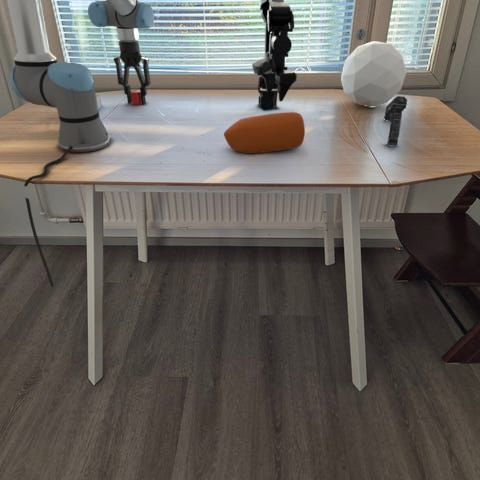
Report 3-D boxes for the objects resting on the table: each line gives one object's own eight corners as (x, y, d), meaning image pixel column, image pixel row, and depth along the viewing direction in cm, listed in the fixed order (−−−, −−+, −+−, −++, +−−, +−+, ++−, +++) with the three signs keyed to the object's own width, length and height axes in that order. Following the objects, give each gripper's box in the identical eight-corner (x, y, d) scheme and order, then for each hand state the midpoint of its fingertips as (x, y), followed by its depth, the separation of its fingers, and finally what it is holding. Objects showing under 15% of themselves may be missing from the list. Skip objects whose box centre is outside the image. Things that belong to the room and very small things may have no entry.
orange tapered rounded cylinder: (228, 162, 123) (308, 151, 124) (223, 128, 117) (309, 117, 118) (224, 147, 133) (299, 137, 134) (220, 115, 127) (299, 104, 128)
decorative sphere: (326, 73, 174) (348, 26, 151) (380, 71, 178) (409, 25, 155) (338, 120, 167) (363, 79, 144) (393, 117, 171) (427, 77, 148)
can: (142, 102, 167) (141, 90, 164) (140, 105, 164) (138, 92, 161) (133, 102, 167) (132, 89, 165) (131, 104, 164) (129, 92, 162)
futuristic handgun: (389, 146, 153) (397, 104, 149) (399, 145, 125) (409, 94, 122) (379, 144, 154) (386, 103, 150) (386, 144, 126) (395, 93, 122)
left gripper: (155, 39, 154) (161, 101, 168) (110, 37, 157) (119, 99, 170) (148, 42, 148) (155, 107, 161) (101, 40, 150) (112, 104, 164)
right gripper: (244, 46, 139) (243, 92, 148) (268, 56, 125) (265, 107, 134) (273, 44, 143) (270, 90, 151) (299, 54, 128) (295, 104, 137)
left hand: (136, 102), depth 166 cm, fingers open, 5 cm apart
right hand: (274, 97), depth 143 cm, fingers open, 9 cm apart
